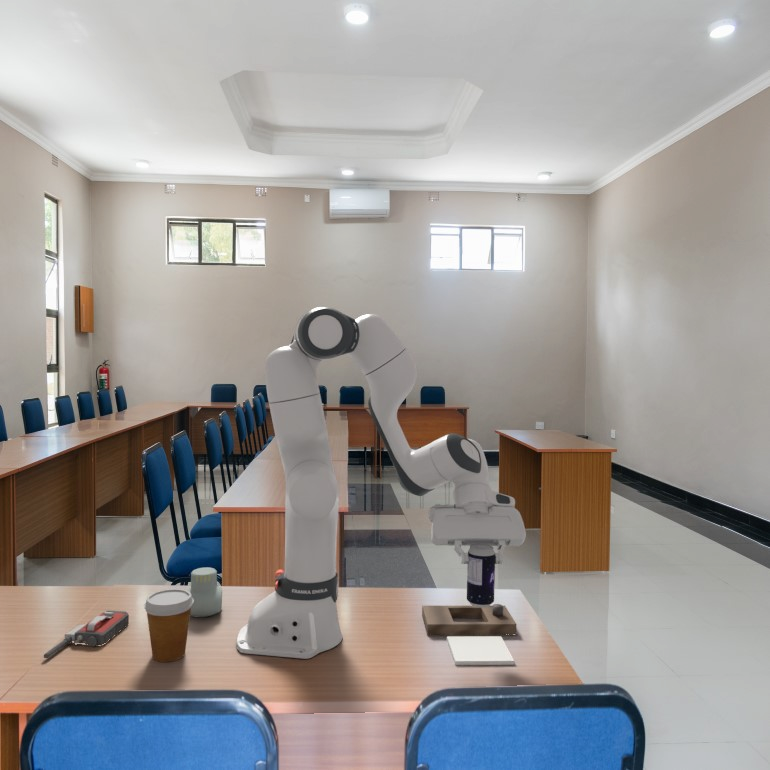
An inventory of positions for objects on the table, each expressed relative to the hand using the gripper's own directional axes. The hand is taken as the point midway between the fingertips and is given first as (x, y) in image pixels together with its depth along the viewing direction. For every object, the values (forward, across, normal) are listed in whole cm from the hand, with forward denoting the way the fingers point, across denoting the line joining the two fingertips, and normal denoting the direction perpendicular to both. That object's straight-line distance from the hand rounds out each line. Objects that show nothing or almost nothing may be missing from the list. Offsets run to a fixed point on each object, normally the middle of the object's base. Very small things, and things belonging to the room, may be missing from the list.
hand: (481, 562), depth 128 cm
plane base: (+4, 0, +23) cm, 24 cm away
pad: (+13, 0, +14) cm, 19 cm away
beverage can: (+6, 0, +7) cm, 9 cm away
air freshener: (-1, -62, +29) cm, 68 cm away
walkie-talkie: (+9, -82, +19) cm, 85 cm away
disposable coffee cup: (+14, -64, +14) cm, 67 cm away
